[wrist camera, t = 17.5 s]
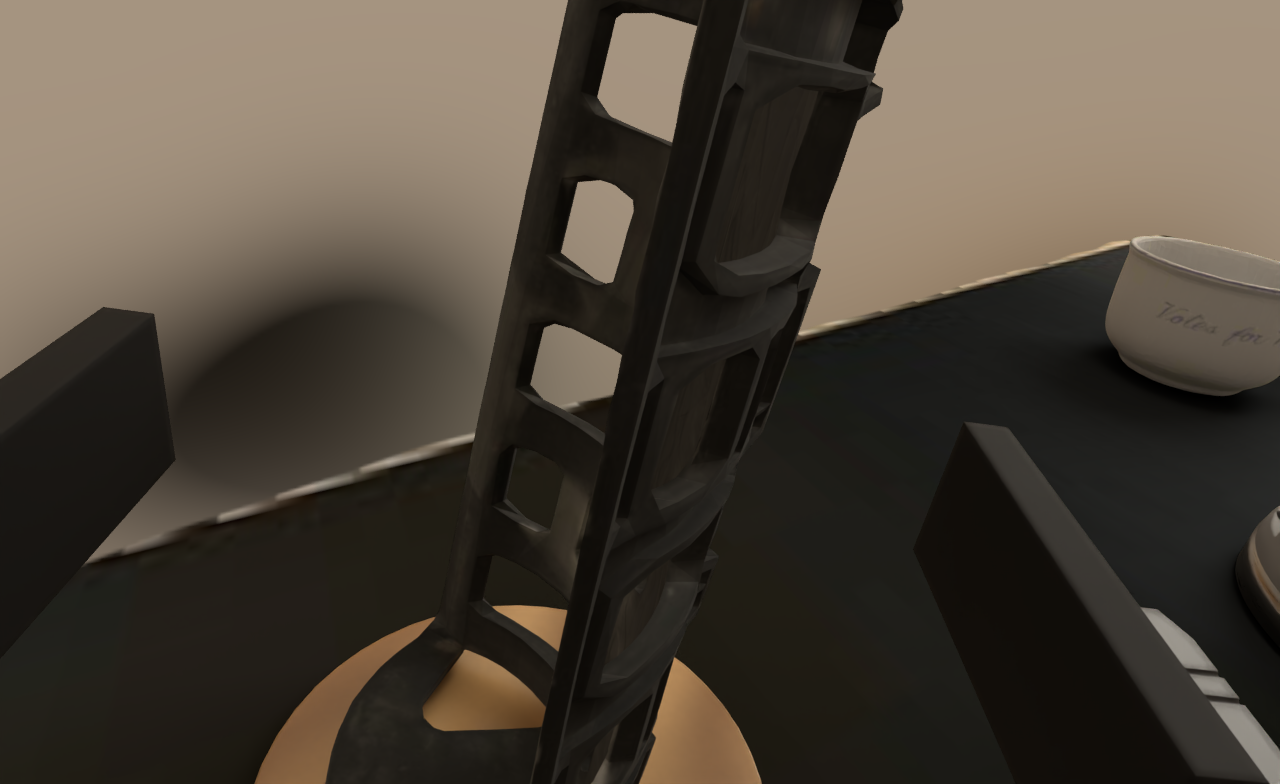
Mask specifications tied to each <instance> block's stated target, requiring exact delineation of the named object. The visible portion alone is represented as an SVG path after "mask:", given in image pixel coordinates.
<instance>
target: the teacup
mask: <svg viewBox="0 0 1280 784" xmlns="http://www.w3.org/2000/svg"><path fill="white" fill-rule="evenodd" d="M1105 327H1106V332H1107V335H1108V338H1109V339H1110V341H1111V343H1112V344H1113V345H1114V347H1115V348H1116V349H1117V350H1118V352H1119V356H1120V358H1121V359H1122V361H1123V362H1124V363H1125V364H1126V365H1127V366H1128V367H1130V368H1131V369H1133V370H1134V371H1136V372H1138V373H1139V374H1141V375H1143V376H1145V377H1147V378H1150V379H1152V380H1154V381H1156V382H1159V383H1162V384H1165V385H1167V386H1170V387H1174V388H1178V389H1181V390H1184V391H1188V392H1193V393H1198V394H1205V395H1212V396H1228V395H1233V394H1236V393H1239V392H1241V391H1242V390H1246V389H1252V388H1256V387H1260V386H1263V385H1265V384H1268V383H1270V382H1271V381H1273V380H1275V379H1276V378H1277V377H1279V376H1280V262H1278V261H1276V260H1272V259H1268V258H1265V257H1262V256H1258V255H1255V254H1251V253H1247V252H1244V251H1237V250H1234V249H1231V248H1227V247H1223V246H1217V245H1212V244H1206V243H1201V242H1196V241H1191V240H1186V239H1179V238H1170V237H1162V236H1149V237H1148V236H1141V237H1136V238H1134V239H1132V240H1131V242H1130V251H1129V254H1128V256H1127V259H1126V261H1125V264H1124V266H1123V268H1122V271H1121V273H1120V276H1119V279H1118V281H1117V284H1116V286H1115V289H1114V292H1113V295H1112V298H1111V301H1110V304H1109V307H1108V310H1107V315H1106V322H1105Z"/></svg>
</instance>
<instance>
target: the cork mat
mask: <svg viewBox="0 0 1280 784" xmlns="http://www.w3.org/2000/svg"><path fill="white" fill-rule="evenodd" d="M492 607H493V608H494V609H495V610H496V611H498V612H500V613H501V614H503V615H505V616H507V617H509V618H510V619H512V620H514V621H515V622H517V623H519V624H520V625H522V626H523V627H525V628H527V629H528V630H530V631H531V632H533V633H534V634H536V635H538V636H539V637H541V638H542V639H543V640H545V641H546V642H547V643H549V644H550V645H551V646H552V647H554V648H555V649H556V650H557V651H559V647H560V642H561V637H562V633H563V628H564V624H565V619H566V614H567V610H561V609H555V608H548V607H537V606H520V605H516V606H492ZM434 619H435V617H433V618H430V619H427V620H424V621H421V622H418V623H415V624H412V625H410V626H408V627H405V628H403V629H401V630H398V631H396V632H394V633H392V634H389V635H387V636H385V637H384V638H382V639H380V640H378V641H376V642H375V643H373V644H371V645H369V646H368V647H366V648H364V649H362V650H361V651H359V652H358V653H357V654H355V655H354V656H352V657H351V658H350V659H348V660H347V661H345V662H344V663H343V664H341V665H340V666H338V667H337V668H336V669H335V670H334V671H333V672H332V673H330V674H329V675H328V676H327V677H326V678H325V679H324V680H323V681H321V682H320V683H319V684H318V685H317V686H316V687H315V688H314V689H313V690H312V691H311V692H310V694H309V695H308V696H307V697H306V698H305V699H304V700H303V701H302V702H301V704H300V705H299V706H298V707H297V708H296V709H295V710H294V712H293V713H292V715H291V716H290V718H289V719H288V720H287V722H286V723H285V725H284V726H283V728H282V729H281V730H280V732H279V733H278V735H277V736H276V738H275V740H274V742H273V744H272V746H271V748H270V750H269V751H268V753H267V755H266V757H265V759H264V761H263V763H262V765H261V767H260V770H259V773H258V776H257V778H256V781H255V784H325V782H326V776H327V771H328V766H329V761H330V756H331V751H332V748H333V745H334V742H335V739H336V736H337V733H338V730H339V728H340V726H341V724H342V722H343V720H344V718H345V715H346V713H347V711H348V709H349V707H350V705H351V703H352V701H353V700H354V698H355V697H356V696H357V694H358V693H359V692H360V690H361V689H362V688H363V687H364V685H365V684H366V683H367V682H368V680H369V679H370V678H371V677H372V676H373V675H374V674H375V672H376V671H377V670H378V669H379V668H380V667H381V666H382V665H383V664H384V663H385V662H387V661H388V660H389V659H390V658H391V657H392V656H393V655H394V654H396V653H397V652H398V651H400V650H401V649H402V648H404V647H405V646H406V645H408V644H409V643H411V642H412V641H413V640H415V639H416V638H417V637H418V636H419V635H420V634H421V633H422V632H423V631H424V630H425V629H426V628H427V627H428V626H429V625H430V623H431V622H432V621H433V620H434ZM545 709H546V707H545V706H544V705H543V703H542V702H541V701H540V700H539V699H538V698H537V697H536V696H535V694H534V693H533V692H532V691H531V690H530V689H529V688H528V687H527V686H526V685H525V684H523V683H522V682H521V681H520V680H519V679H518V678H516V677H515V676H514V675H512V674H511V673H510V672H508V671H507V670H506V669H504V668H503V667H501V666H500V665H498V664H496V663H494V662H493V661H491V660H489V659H487V658H485V657H482V656H480V655H478V654H476V653H473V652H471V651H468V650H464V652H463V654H462V655H461V656H460V658H459V659H458V660H457V662H456V663H455V664H454V666H453V667H452V668H451V669H450V671H449V672H448V673H447V675H446V676H445V677H444V679H443V680H442V681H441V683H440V684H439V685H438V687H437V688H436V690H435V691H434V692H433V693H432V695H431V696H430V697H429V699H428V700H427V701H426V703H425V704H424V705H423V715H424V718H425V719H426V720H427V721H428V722H429V723H430V724H431V725H432V726H433V727H434V728H437V729H440V730H443V731H455V730H492V729H514V728H533V727H541V726H542V723H543V718H544V714H545ZM652 733H653V734H654V735H655V737H656V740H655V743H654V746H653V748H652V751H651V754H650V757H649V759H648V762H647V765H646V767H645V770H644V772H643V775H642V778H641V780H640V783H639V784H762V782H761V779H760V776H759V773H758V771H757V768H756V765H755V762H754V759H753V757H752V754H751V752H750V750H749V748H748V746H747V744H746V742H745V740H744V738H743V736H742V734H741V732H740V730H739V728H738V727H737V725H736V723H735V722H734V720H733V719H732V717H731V716H730V714H729V713H728V711H727V710H726V708H725V707H724V705H723V704H722V703H721V702H720V701H719V700H718V698H717V697H716V696H715V695H714V694H713V692H712V691H711V690H710V689H709V688H708V687H707V685H706V684H705V683H704V682H702V681H701V680H700V679H699V678H698V677H697V676H696V675H695V674H694V673H693V672H692V671H691V670H690V669H689V668H688V667H687V666H685V665H684V664H683V663H681V662H680V661H679V660H677V659H676V658H675V657H674V660H673V664H672V667H671V671H670V674H669V677H668V681H667V684H666V687H665V691H664V694H663V698H662V701H661V704H660V708H659V710H658V716H657V720H656V723H655V725H654V728H653V731H652Z"/></svg>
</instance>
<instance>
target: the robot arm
mask: <svg viewBox="0 0 1280 784" xmlns="http://www.w3.org/2000/svg"><path fill="white" fill-rule="evenodd" d="M174 461H175V454H174V446H173V440H172V433H171V426H170V419H169V412H168V406H167V399H166V392H165V385H164V378H163V372H162V365H161V358H160V351H159V344H158V338H157V331H156V324H155V317H154V314H151V313H144V312H136V311H128V310H121V309H114V308H105V307H103V308H101V309H100V310H98V311H97V312H96V313H94V314H93V315H91V316H90V317H88V318H87V319H86V320H84V321H83V322H81V323H80V324H78V325H77V326H75V327H74V328H73V329H71V330H70V331H68V332H67V333H65V334H64V335H63V336H61V337H60V338H58V339H57V340H55V341H54V342H53V343H51V344H50V345H48V346H47V347H45V348H44V349H43V350H41V351H40V352H38V353H37V354H36V355H34V356H33V357H31V358H30V359H28V360H27V361H25V362H24V363H23V364H21V365H20V366H18V367H17V368H15V369H14V370H13V371H11V372H10V373H8V374H7V375H5V376H4V377H3V378H1V379H0V658H1V657H2V656H3V655H4V654H5V653H6V652H7V651H8V649H9V648H10V647H11V646H12V645H13V644H14V643H15V641H16V640H17V639H18V638H19V637H20V636H21V635H22V633H23V632H24V631H25V630H26V629H27V628H28V627H29V626H30V624H31V623H32V622H33V621H34V620H35V619H36V618H37V616H38V615H39V614H40V613H41V612H42V611H43V610H44V609H45V607H46V606H47V605H48V604H49V603H50V602H51V601H52V599H53V598H54V597H55V596H56V595H57V594H58V593H59V591H60V590H61V589H62V588H63V587H64V586H65V585H66V584H67V582H68V581H69V580H70V579H71V578H72V577H73V576H74V574H75V573H76V572H77V571H78V570H79V569H80V568H81V567H82V565H83V564H84V563H85V562H86V561H87V560H88V559H89V557H90V556H91V555H92V554H93V553H94V552H95V551H96V549H97V548H98V547H99V546H100V545H101V544H102V543H103V542H104V540H105V539H106V538H107V537H108V536H109V535H110V533H111V532H112V531H113V530H114V529H115V528H116V527H117V526H118V524H119V523H120V522H121V521H122V520H123V519H124V518H125V517H126V515H127V514H128V513H129V512H130V511H131V510H132V508H133V507H134V506H135V505H136V504H137V503H138V502H139V501H140V499H141V498H142V497H143V496H144V495H145V494H146V493H147V492H148V490H149V489H150V488H151V487H152V486H153V485H154V484H155V482H156V481H157V480H158V479H159V478H160V477H161V476H162V474H163V473H164V472H165V471H166V470H167V469H168V468H169V467H170V465H171V464H172V463H173V462H174ZM913 550H914V552H915V554H916V557H917V559H918V561H919V564H920V566H921V568H922V570H923V573H924V575H925V577H926V580H927V582H928V584H929V586H930V589H931V591H932V593H933V596H934V598H935V600H936V602H937V605H938V607H939V609H940V611H941V614H942V616H943V618H944V621H945V623H946V625H947V627H948V630H949V632H950V634H951V637H952V639H953V641H954V643H955V646H956V648H957V650H958V653H959V655H960V657H961V659H962V662H963V664H964V666H965V668H966V671H967V673H968V675H969V678H970V680H971V682H972V684H973V687H974V689H975V691H976V694H977V696H978V698H979V700H980V703H981V705H982V707H983V710H984V712H985V714H986V716H987V719H988V721H989V723H990V725H991V728H992V730H993V732H994V735H995V737H996V739H997V741H998V744H999V746H1000V748H1001V751H1002V753H1003V755H1004V757H1005V760H1006V762H1007V764H1008V767H1009V769H1010V771H1011V773H1012V776H1013V778H1014V780H1015V782H1016V784H1280V750H1279V749H1278V747H1277V746H1276V745H1275V743H1274V742H1273V741H1272V740H1271V738H1270V737H1269V736H1268V734H1267V733H1266V732H1265V731H1264V729H1263V728H1262V727H1261V725H1260V724H1259V723H1258V722H1257V720H1256V719H1255V718H1254V716H1253V715H1252V714H1251V713H1250V711H1249V710H1248V709H1247V707H1246V706H1245V705H1240V704H1239V697H1238V696H1237V695H1236V693H1235V692H1234V691H1233V689H1232V688H1231V687H1230V686H1229V684H1228V683H1227V682H1226V680H1225V679H1224V678H1219V676H1218V672H1219V671H1218V670H1217V669H1216V668H1215V666H1214V665H1213V664H1212V662H1211V661H1210V660H1209V659H1208V657H1207V656H1206V655H1205V654H1204V652H1203V651H1202V650H1201V648H1200V647H1199V646H1198V645H1197V643H1196V642H1195V641H1194V639H1193V638H1191V637H1190V636H1189V635H1188V634H1186V633H1185V632H1184V631H1183V630H1182V629H1180V628H1179V627H1178V626H1177V625H1176V624H1174V623H1173V622H1172V621H1171V620H1170V619H1168V618H1167V617H1166V616H1165V615H1163V614H1162V613H1161V612H1160V611H1159V610H1157V609H1149V608H1141V607H1140V606H1139V605H1138V604H1137V602H1136V601H1135V600H1134V598H1133V597H1132V596H1131V594H1130V593H1129V591H1128V590H1127V589H1126V587H1125V586H1124V585H1123V583H1122V582H1121V581H1120V579H1119V578H1118V577H1117V575H1116V574H1115V572H1114V571H1113V570H1112V568H1111V567H1110V566H1109V564H1108V563H1107V562H1106V560H1105V559H1104V558H1103V556H1102V555H1101V553H1100V552H1099V551H1098V549H1097V548H1096V547H1095V545H1094V544H1093V543H1092V541H1091V540H1090V538H1089V537H1088V536H1087V534H1086V533H1085V532H1084V530H1083V529H1082V528H1081V526H1080V525H1079V524H1078V522H1077V521H1076V519H1075V518H1074V517H1073V515H1072V514H1071V513H1070V511H1069V510H1068V509H1067V507H1066V506H1065V505H1064V503H1063V502H1062V500H1061V499H1060V498H1059V496H1058V495H1057V494H1056V492H1055V491H1054V490H1053V488H1052V487H1051V486H1050V484H1049V483H1048V481H1047V480H1046V479H1045V477H1044V476H1043V475H1042V473H1041V472H1040V471H1039V469H1038V468H1037V466H1036V465H1035V464H1034V462H1033V461H1032V460H1031V458H1030V457H1029V456H1028V454H1027V453H1026V452H1025V450H1024V449H1023V447H1022V446H1021V445H1020V443H1019V442H1018V441H1017V439H1016V438H1015V437H1014V435H1013V434H1012V433H1011V431H1010V430H1009V428H1007V427H1000V426H992V425H985V424H977V423H970V422H964V423H963V425H962V428H961V430H960V433H959V435H958V438H957V440H956V443H955V445H954V448H953V450H952V453H951V455H950V458H949V461H948V463H947V466H946V468H945V471H944V473H943V476H942V478H941V481H940V483H939V486H938V488H937V491H936V493H935V496H934V498H933V501H932V503H931V506H930V508H929V511H928V513H927V516H926V518H925V521H924V523H923V526H922V529H921V531H920V534H919V536H918V539H917V541H916V544H915V546H914V549H913ZM1235 572H1236V580H1237V583H1238V587H1239V590H1240V592H1241V594H1242V596H1243V599H1244V601H1245V602H1246V604H1247V606H1248V607H1249V609H1250V611H1251V613H1252V614H1253V615H1254V617H1255V618H1256V620H1257V621H1258V622H1259V624H1260V625H1261V627H1262V628H1263V629H1264V630H1265V631H1266V633H1267V634H1268V635H1269V636H1270V637H1271V639H1272V640H1273V641H1274V642H1275V643H1276V644H1277V645H1278V646H1279V647H1280V506H1278V507H1277V508H1275V509H1274V510H1273V511H1272V512H1271V513H1270V514H1269V515H1268V516H1267V517H1265V518H1264V519H1263V520H1262V521H1260V523H1259V524H1258V525H1257V527H1256V528H1255V530H1254V531H1253V533H1252V535H1251V536H1250V538H1249V539H1248V541H1247V542H1246V544H1245V545H1244V547H1243V548H1242V550H1241V552H1240V553H1239V555H1238V558H1237V560H1236V567H1235Z"/></svg>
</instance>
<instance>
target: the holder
mask: <svg viewBox="0 0 1280 784" xmlns="http://www.w3.org/2000/svg"><path fill="white" fill-rule="evenodd" d="M902 11H903V4H902V0H568V4H567V8H566V13H565V17H564V22H563V27H562V31H561V36H560V40H559V45H558V49H557V54H556V59H555V63H554V68H553V72H552V77H551V81H550V86H549V90H548V95H547V100H546V104H545V108H544V113H543V117H542V122H541V127H540V131H539V136H538V140H537V145H536V150H535V154H534V159H533V164H532V168H531V173H530V177H529V182H528V185H527V190H526V195H525V200H524V205H523V210H522V215H521V220H520V224H519V230H518V234H517V239H516V244H515V249H514V253H513V257H512V262H511V267H510V271H509V276H508V281H507V287H506V291H505V296H504V300H503V305H502V309H501V314H500V319H499V324H498V329H497V333H496V338H495V343H494V348H493V353H492V358H491V363H490V368H489V373H488V377H487V382H486V386H485V390H484V395H483V400H482V404H481V409H480V413H479V418H478V423H477V428H476V433H475V438H474V443H473V447H472V452H471V458H470V463H469V468H468V473H467V478H466V483H465V487H464V491H463V496H462V501H461V506H460V511H459V516H458V520H457V525H456V530H455V535H454V540H453V545H452V550H451V555H450V561H449V567H448V572H447V578H446V583H445V587H444V592H443V596H442V601H441V605H440V610H439V612H438V613H437V615H436V617H435V619H434V620H433V621H432V622H431V623H430V625H429V626H428V627H427V628H426V629H425V630H424V631H423V632H422V633H421V634H420V635H419V636H418V637H417V638H416V639H415V640H413V641H412V642H411V643H409V644H408V645H406V646H405V647H404V648H402V649H401V650H400V651H398V652H397V653H396V654H394V655H393V656H392V657H391V658H390V659H389V660H388V661H387V662H385V663H384V664H383V665H382V666H381V667H380V668H379V669H378V670H377V671H376V672H375V674H374V675H373V676H372V677H371V678H370V679H369V680H368V682H367V683H366V684H365V685H364V687H363V688H362V689H361V690H360V692H359V693H358V694H357V696H356V697H355V698H354V700H353V701H352V703H351V705H350V707H349V709H348V711H347V713H346V715H345V718H344V720H343V722H342V724H341V726H340V728H339V730H338V733H337V736H336V739H335V742H334V745H333V748H332V751H331V756H330V761H329V766H328V771H327V776H326V782H325V784H639V783H640V780H641V778H642V775H643V772H644V770H645V767H646V765H647V762H648V759H649V757H650V754H651V751H652V748H653V746H654V743H655V740H656V737H655V735H654V734H653V733H652V731H653V728H654V725H655V723H656V720H657V716H658V710H659V708H660V704H661V701H662V698H663V694H664V691H665V687H666V684H667V681H668V677H669V674H670V671H671V667H672V664H673V660H674V657H675V655H676V652H677V650H678V647H679V645H680V643H681V640H682V638H683V635H684V633H685V630H686V627H687V626H688V625H689V623H690V622H691V621H692V620H693V618H694V617H695V616H696V615H697V612H698V610H699V607H700V605H701V602H702V599H703V597H704V594H705V592H706V589H707V586H708V584H709V581H710V579H711V576H712V574H713V571H714V568H715V566H716V563H717V561H718V558H719V556H718V555H717V554H716V553H715V552H714V551H713V550H711V549H709V548H710V545H711V543H712V540H713V538H714V535H715V533H716V530H717V527H718V524H719V520H720V517H721V513H722V510H723V507H724V503H725V502H726V500H727V499H728V497H729V494H730V492H731V489H732V486H733V484H734V478H735V473H736V469H737V465H738V461H739V459H740V457H741V456H742V455H743V454H744V453H745V452H746V451H747V450H748V448H749V447H750V446H751V445H752V444H753V443H754V442H755V441H756V440H757V438H758V437H759V436H760V435H761V433H762V431H763V429H764V426H765V423H766V420H767V418H768V415H769V412H770V410H771V407H772V404H773V401H774V399H775V396H776V393H777V391H778V388H779V385H780V382H781V380H782V377H783V374H784V372H785V369H786V366H787V363H788V361H789V358H790V355H791V352H792V349H793V347H794V344H795V341H796V338H797V335H798V333H799V330H800V327H801V324H802V321H803V318H804V316H805V313H806V310H807V307H808V304H809V302H810V299H811V296H812V293H813V290H814V288H815V285H816V282H817V279H818V276H819V274H820V271H821V269H819V268H817V267H816V266H814V265H812V264H810V263H809V262H810V261H811V259H812V255H813V250H814V246H815V241H816V238H817V235H818V232H819V228H820V225H821V222H822V218H823V215H824V212H825V209H826V207H827V204H828V202H829V199H830V196H831V194H832V191H833V189H834V186H835V183H836V181H837V178H838V176H839V172H840V170H841V167H842V164H843V161H844V158H845V155H846V152H847V149H848V146H849V143H850V140H851V138H852V135H853V131H854V129H855V126H856V123H857V121H858V120H859V119H860V118H861V117H862V116H864V115H865V114H867V113H868V112H870V111H871V110H873V109H874V108H875V107H877V106H879V105H880V102H881V97H882V92H883V88H881V87H879V86H877V85H876V84H874V83H873V82H872V80H873V78H874V76H875V73H874V70H875V66H876V63H877V59H878V56H879V53H880V50H881V48H882V45H883V43H884V40H885V37H886V35H887V32H888V30H889V29H890V28H891V27H893V26H894V25H895V24H896V23H897V22H898V21H899V18H900V16H901V13H902ZM622 13H655V14H659V15H662V16H666V17H669V18H672V19H676V20H679V21H682V22H686V23H689V24H692V25H696V26H697V30H696V34H695V38H694V42H693V46H692V50H691V55H690V59H689V63H688V67H687V71H686V75H685V80H684V84H683V89H682V95H681V101H680V106H679V112H678V118H677V123H676V129H675V133H674V138H673V142H669V141H666V140H664V139H662V138H659V137H656V136H654V135H651V134H649V133H646V132H644V131H642V130H639V129H637V128H635V127H633V126H630V125H628V124H626V123H624V122H621V121H619V120H617V119H614V118H612V117H611V116H610V115H609V114H608V113H607V111H606V110H605V108H604V107H603V105H602V104H601V103H600V101H599V99H598V98H597V95H598V91H599V87H600V83H601V79H602V74H603V70H604V66H605V62H606V57H607V53H608V49H609V45H610V41H611V37H612V32H613V28H614V24H615V20H616V18H617V17H618V16H620V15H621V14H622ZM595 180H602V181H605V182H608V183H611V184H613V185H616V186H617V187H618V188H619V189H620V190H622V191H623V192H624V193H625V194H627V195H628V196H629V197H630V198H631V199H633V205H634V213H633V216H632V219H631V222H630V225H629V228H628V232H627V235H626V239H625V243H624V247H623V250H622V254H621V257H620V261H619V264H618V268H617V271H616V274H615V278H614V281H613V282H612V283H607V284H605V283H603V282H600V281H598V280H596V279H594V278H593V277H591V276H590V275H589V274H588V273H586V272H585V271H584V270H582V269H581V268H580V267H579V266H577V265H576V264H575V263H573V262H572V261H571V260H569V259H568V258H567V257H566V256H564V255H563V254H562V253H561V250H562V245H563V241H564V237H565V233H566V229H567V225H568V221H569V216H570V212H571V208H572V204H573V200H574V195H575V191H576V187H577V183H578V182H583V181H595ZM552 324H558V325H561V326H565V327H568V328H572V329H574V330H576V331H578V332H580V333H582V334H584V335H586V336H588V337H590V338H592V339H594V340H596V341H598V342H600V343H602V344H604V345H606V346H608V347H610V348H612V349H614V350H615V351H617V352H618V353H620V354H621V355H622V358H621V363H620V368H619V374H618V379H617V383H616V387H615V391H614V395H613V399H612V402H611V406H610V410H609V415H608V421H607V427H606V433H603V432H602V431H600V430H598V429H597V428H595V427H594V426H592V425H591V424H589V423H587V422H585V421H583V420H581V419H580V418H578V417H576V416H574V415H572V414H570V413H568V412H566V411H565V410H563V409H561V408H559V407H557V406H555V405H553V404H551V403H549V402H547V401H545V400H543V398H541V396H540V395H539V394H538V393H537V392H536V391H535V389H534V388H533V387H532V386H531V385H530V383H531V379H532V375H533V371H534V366H535V362H536V358H537V354H538V349H539V345H540V341H541V337H542V333H543V329H544V327H547V326H550V325H552ZM517 448H526V449H529V450H533V451H536V452H538V453H540V454H541V455H543V456H545V457H547V458H549V459H551V460H552V461H554V462H555V463H556V464H557V466H558V467H559V468H560V470H561V471H562V473H563V474H564V477H563V481H562V486H561V490H560V494H559V498H558V502H557V506H556V511H555V514H554V518H553V522H552V526H551V529H547V528H545V527H543V526H541V525H539V524H537V523H535V522H533V521H531V520H529V519H527V518H525V517H524V516H523V515H522V514H521V513H520V512H519V510H518V509H517V508H516V507H515V506H514V505H513V504H512V503H511V502H510V501H509V500H508V499H507V498H506V496H507V492H508V487H509V482H510V478H511V473H512V469H513V464H514V460H515V455H516V451H517ZM493 555H498V556H501V557H503V558H506V559H508V560H511V561H513V562H515V563H517V564H519V565H520V566H522V567H524V568H526V569H527V570H529V571H531V572H533V573H534V574H536V575H538V576H539V577H540V578H541V579H543V580H544V581H545V582H546V583H548V584H549V585H550V586H552V587H553V588H554V589H555V590H557V591H558V592H559V593H560V594H561V595H562V596H563V597H564V598H565V599H566V600H567V602H568V603H569V605H568V610H567V614H566V619H565V624H564V628H563V633H562V637H561V642H560V647H559V651H557V650H556V649H555V648H554V647H552V646H551V645H550V644H549V643H547V642H546V641H545V640H543V639H542V638H541V637H539V636H538V635H536V634H534V633H533V632H531V631H530V630H528V629H527V628H525V627H523V626H522V625H520V624H519V623H517V622H515V621H514V620H512V619H510V618H509V617H507V616H505V615H503V614H501V613H500V612H498V611H496V610H495V609H494V608H493V607H492V606H491V605H490V604H489V603H488V602H487V601H486V600H485V599H484V598H483V597H484V592H485V587H486V583H487V578H488V573H489V569H490V564H491V559H492V556H493ZM464 650H468V651H471V652H473V653H476V654H478V655H480V656H482V657H485V658H487V659H489V660H491V661H493V662H494V663H496V664H498V665H500V666H501V667H503V668H504V669H506V670H507V671H508V672H510V673H511V674H512V675H514V676H515V677H516V678H518V679H519V680H520V681H521V682H522V683H523V684H525V685H526V686H527V687H528V688H529V689H530V690H531V691H532V692H533V693H534V694H535V696H536V697H537V698H538V699H539V700H540V701H541V702H542V703H543V705H544V706H545V707H546V709H545V714H544V718H543V723H542V726H541V727H533V728H514V729H492V730H455V731H443V730H440V729H437V728H434V727H433V726H432V725H431V724H430V723H429V722H428V721H427V720H426V719H425V718H424V715H423V705H424V704H425V703H426V701H427V700H428V699H429V697H430V696H431V695H432V693H433V692H434V691H435V690H436V688H437V687H438V685H439V684H440V683H441V681H442V680H443V679H444V677H445V676H446V675H447V673H448V672H449V671H450V669H451V668H452V667H453V666H454V664H455V663H456V662H457V660H458V659H459V658H460V656H461V655H462V654H463V652H464Z"/></svg>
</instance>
